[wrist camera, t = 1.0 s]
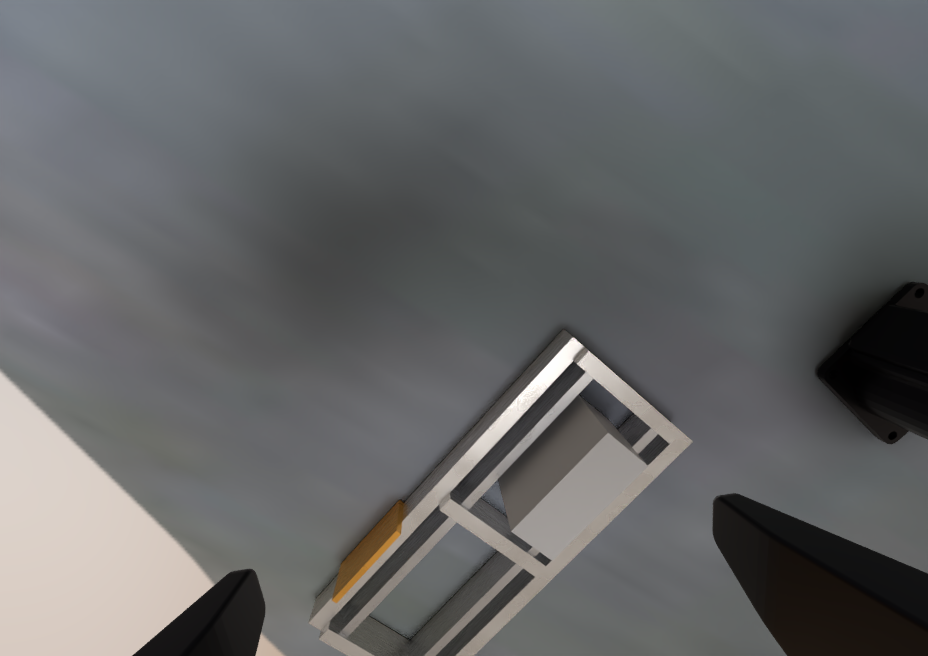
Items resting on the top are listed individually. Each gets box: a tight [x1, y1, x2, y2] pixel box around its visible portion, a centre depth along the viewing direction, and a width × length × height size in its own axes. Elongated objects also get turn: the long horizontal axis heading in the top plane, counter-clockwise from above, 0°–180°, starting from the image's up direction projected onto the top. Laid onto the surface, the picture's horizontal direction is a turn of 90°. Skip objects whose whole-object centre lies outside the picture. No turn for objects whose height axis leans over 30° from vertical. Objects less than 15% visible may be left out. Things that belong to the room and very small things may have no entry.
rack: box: [309, 329, 692, 656], centre depth 23 cm, size 8×20×2 cm, turn 139°
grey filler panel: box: [498, 394, 648, 561], centre depth 21 cm, size 2×6×4 cm, turn 139°
